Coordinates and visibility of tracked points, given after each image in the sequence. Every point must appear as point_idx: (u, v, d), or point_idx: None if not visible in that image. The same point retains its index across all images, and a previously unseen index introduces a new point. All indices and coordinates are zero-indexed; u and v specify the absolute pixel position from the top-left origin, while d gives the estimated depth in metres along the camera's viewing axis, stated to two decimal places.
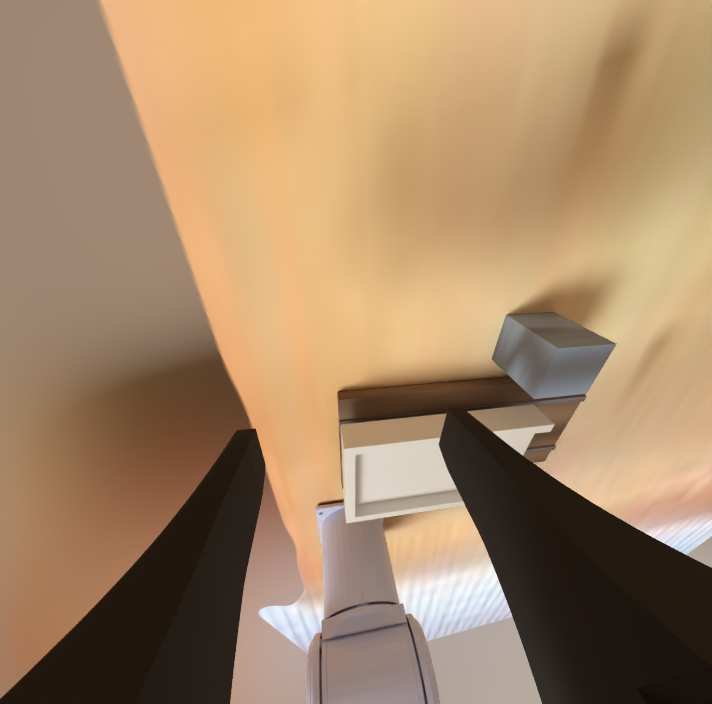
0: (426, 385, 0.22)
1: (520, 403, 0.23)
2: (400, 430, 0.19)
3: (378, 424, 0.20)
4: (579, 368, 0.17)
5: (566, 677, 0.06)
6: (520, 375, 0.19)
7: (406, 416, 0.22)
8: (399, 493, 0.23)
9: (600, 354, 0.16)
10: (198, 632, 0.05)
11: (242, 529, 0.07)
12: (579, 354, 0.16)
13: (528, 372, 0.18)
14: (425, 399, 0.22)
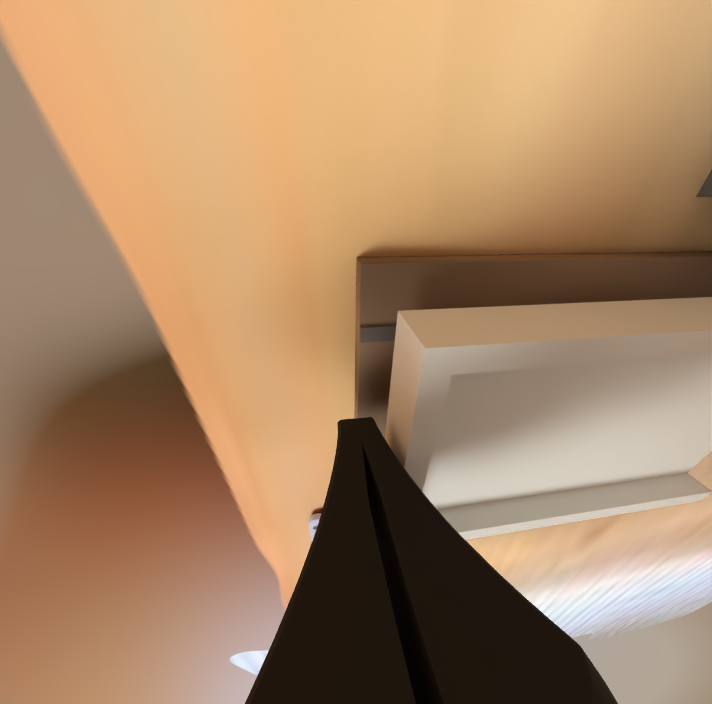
0: (550, 255, 0.10)
1: None
2: (560, 320, 0.07)
3: (493, 311, 0.08)
4: None
5: None
6: None
7: None
8: (496, 490, 0.12)
9: None
10: None
11: None
12: None
13: None
14: (551, 282, 0.10)
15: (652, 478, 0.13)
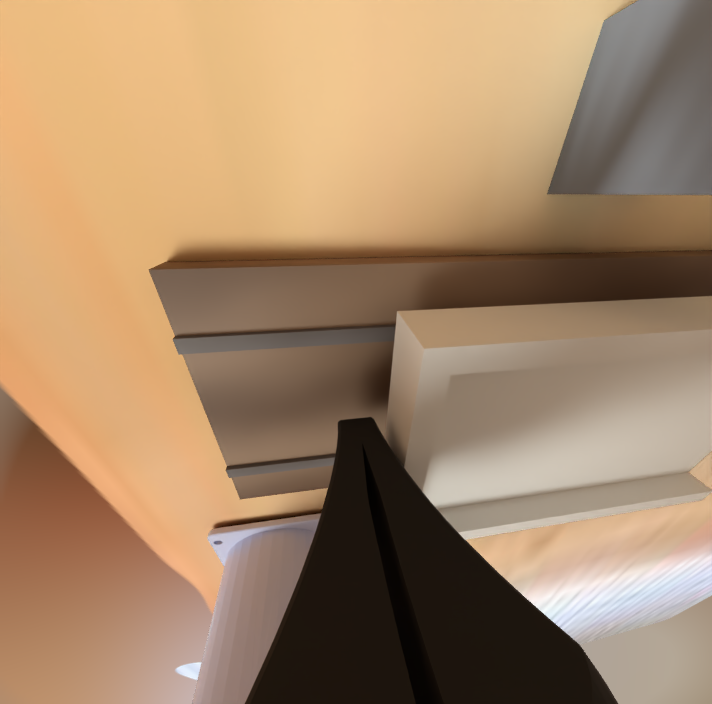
0: (391, 258, 0.09)
1: None
2: (559, 320, 0.07)
3: (492, 311, 0.08)
4: None
5: None
6: (665, 158, 0.06)
7: (344, 333, 0.09)
8: (496, 490, 0.12)
9: None
10: None
11: None
12: None
13: None
14: (387, 288, 0.09)
15: (653, 477, 0.13)
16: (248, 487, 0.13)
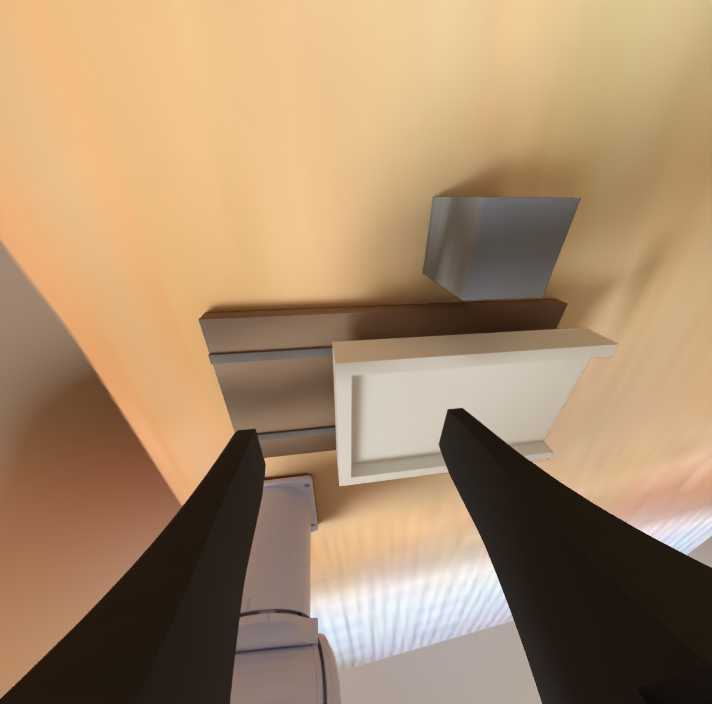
0: (333, 308, 0.16)
1: None
2: (413, 347, 0.14)
3: (383, 342, 0.14)
4: (526, 244, 0.11)
5: (566, 677, 0.06)
6: (448, 274, 0.13)
7: (307, 351, 0.16)
8: (408, 449, 0.18)
9: (556, 218, 0.10)
10: (198, 632, 0.05)
11: (242, 529, 0.07)
12: (523, 215, 0.10)
13: (456, 264, 0.12)
14: (330, 326, 0.16)
15: (518, 444, 0.20)
16: None
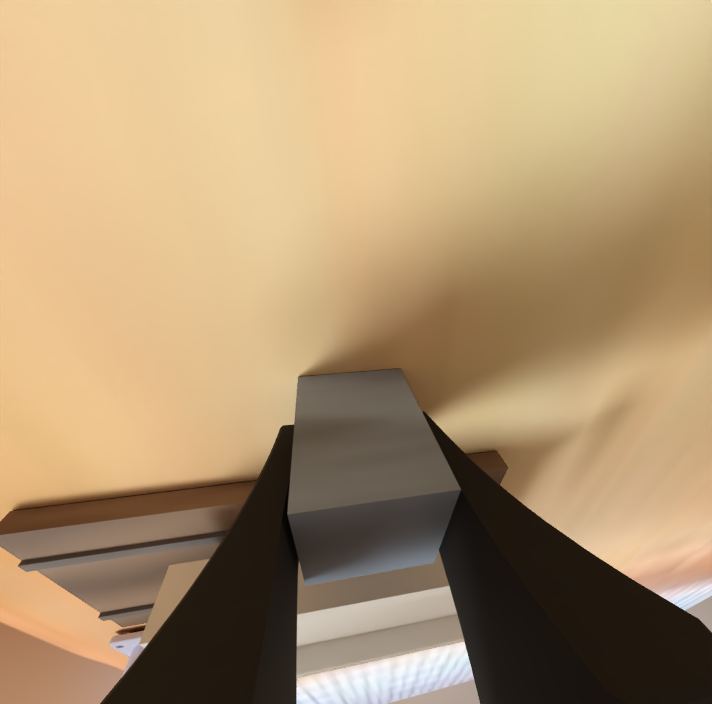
0: (192, 492, 0.12)
1: None
2: None
3: None
4: (384, 535, 0.07)
5: (501, 694, 0.05)
6: None
7: (159, 547, 0.12)
8: (310, 639, 0.14)
9: (427, 510, 0.06)
10: (280, 617, 0.05)
11: None
12: (367, 517, 0.06)
13: None
14: (184, 520, 0.12)
15: None
16: (126, 620, 0.16)
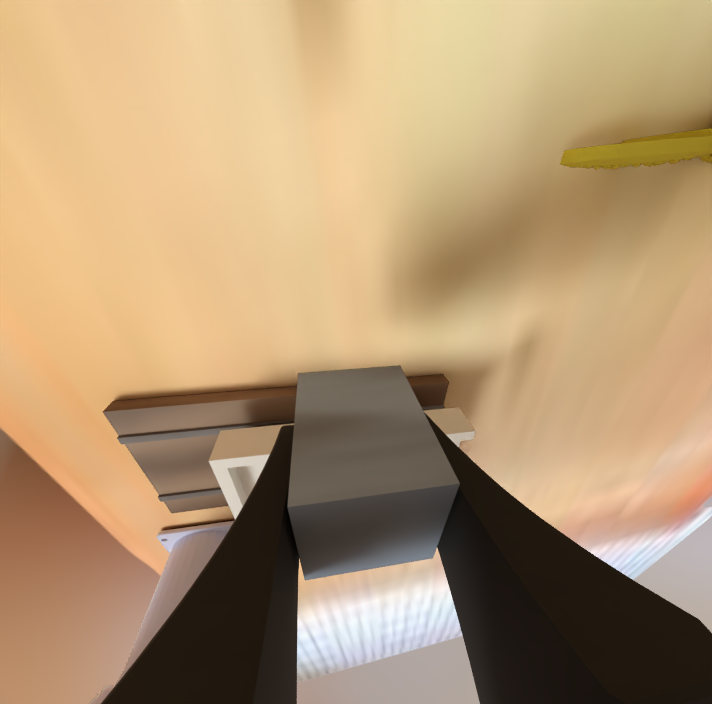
0: (231, 393, 0.18)
1: None
2: None
3: (265, 430, 0.16)
4: (384, 529, 0.07)
5: (500, 693, 0.05)
6: None
7: (208, 431, 0.18)
8: None
9: (426, 504, 0.06)
10: (280, 616, 0.05)
11: None
12: (366, 510, 0.06)
13: None
14: (227, 410, 0.18)
15: None
16: (175, 506, 0.22)
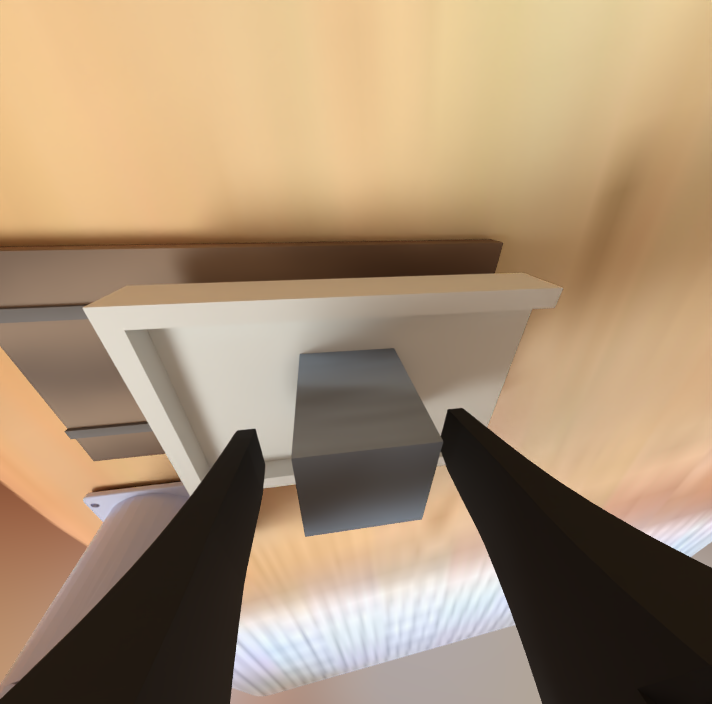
0: (158, 245, 0.11)
1: None
2: (241, 291, 0.09)
3: (205, 285, 0.10)
4: (377, 486, 0.08)
5: (566, 678, 0.06)
6: None
7: None
8: (290, 446, 0.13)
9: (413, 461, 0.07)
10: (198, 632, 0.05)
11: (242, 529, 0.07)
12: (361, 465, 0.07)
13: None
14: (148, 269, 0.11)
15: None
16: (97, 449, 0.15)
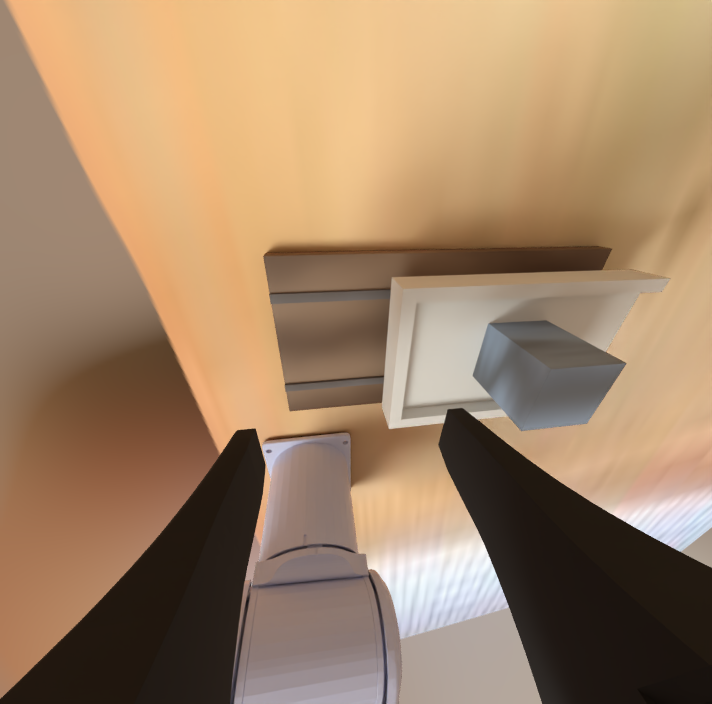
0: (387, 251, 0.17)
1: None
2: (472, 280, 0.14)
3: (441, 277, 0.15)
4: (578, 393, 0.13)
5: (566, 677, 0.06)
6: (505, 399, 0.15)
7: (361, 293, 0.17)
8: (454, 394, 0.19)
9: (605, 376, 0.13)
10: (198, 632, 0.05)
11: (242, 529, 0.07)
12: (579, 377, 0.12)
13: (515, 397, 0.14)
14: (385, 267, 0.16)
15: None
16: (296, 401, 0.21)
